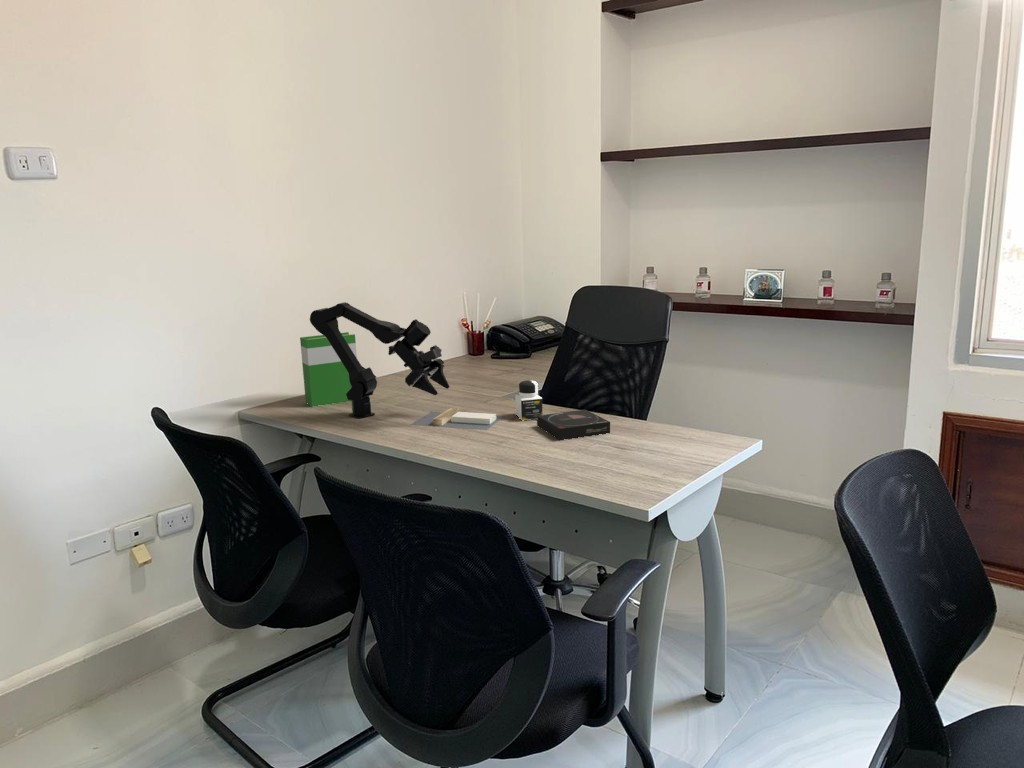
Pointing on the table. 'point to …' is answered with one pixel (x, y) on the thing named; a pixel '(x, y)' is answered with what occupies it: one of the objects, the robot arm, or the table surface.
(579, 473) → the table surface
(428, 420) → the mat
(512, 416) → the table surface
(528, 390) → the medicine bottle
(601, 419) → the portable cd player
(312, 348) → the hardback book
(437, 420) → the ledge
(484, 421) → the tile
